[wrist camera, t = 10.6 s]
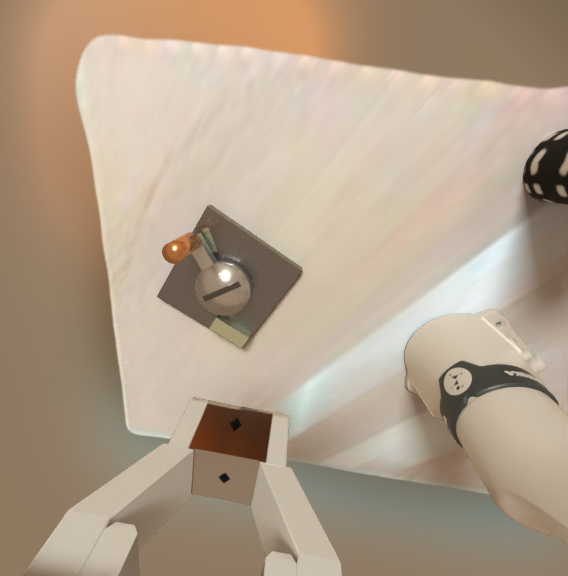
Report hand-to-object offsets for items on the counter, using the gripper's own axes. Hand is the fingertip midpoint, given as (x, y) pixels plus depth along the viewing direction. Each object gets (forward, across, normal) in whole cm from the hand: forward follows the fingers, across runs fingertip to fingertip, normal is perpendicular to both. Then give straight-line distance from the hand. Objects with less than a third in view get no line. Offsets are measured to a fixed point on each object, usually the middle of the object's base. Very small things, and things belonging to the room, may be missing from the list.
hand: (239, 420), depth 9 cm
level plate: (+34, +8, +10) cm, 37 cm away
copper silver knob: (+32, +10, +8) cm, 35 cm away
